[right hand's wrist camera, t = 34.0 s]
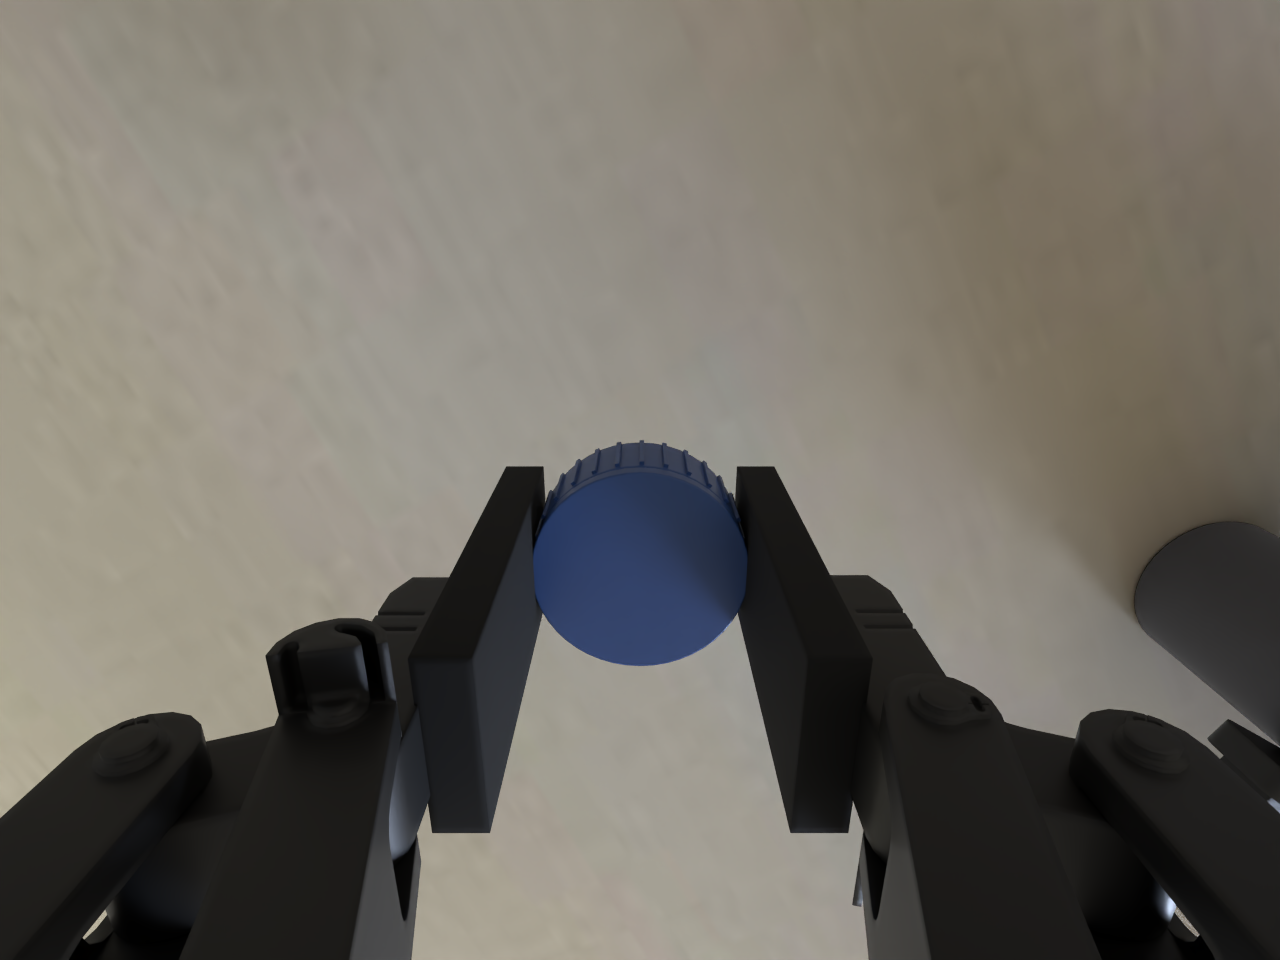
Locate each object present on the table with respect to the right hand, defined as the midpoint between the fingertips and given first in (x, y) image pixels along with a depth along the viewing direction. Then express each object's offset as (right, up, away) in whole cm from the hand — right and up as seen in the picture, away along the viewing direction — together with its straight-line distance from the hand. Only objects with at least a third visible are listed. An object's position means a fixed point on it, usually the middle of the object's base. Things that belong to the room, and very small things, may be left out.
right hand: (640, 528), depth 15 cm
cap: (0, -1, -1) cm, 2 cm away
